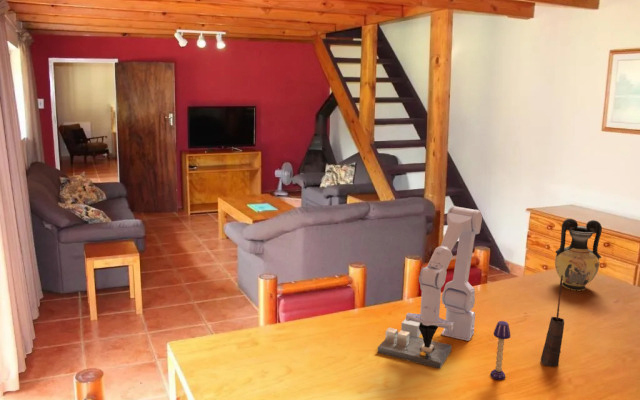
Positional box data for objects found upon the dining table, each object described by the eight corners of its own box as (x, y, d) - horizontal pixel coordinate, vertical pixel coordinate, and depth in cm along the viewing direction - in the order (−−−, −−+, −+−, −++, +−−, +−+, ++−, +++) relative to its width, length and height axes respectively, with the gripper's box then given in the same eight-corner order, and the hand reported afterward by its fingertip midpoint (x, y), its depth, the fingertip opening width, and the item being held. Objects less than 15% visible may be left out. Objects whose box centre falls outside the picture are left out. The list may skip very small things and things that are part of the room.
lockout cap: (422, 332, 189) (422, 320, 188) (416, 338, 184) (417, 326, 183) (406, 328, 191) (407, 316, 190) (401, 335, 186) (401, 322, 185)
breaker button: (433, 353, 174) (433, 345, 173) (430, 357, 171) (430, 348, 170) (423, 351, 175) (424, 342, 174) (420, 355, 172) (421, 346, 172)
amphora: (556, 292, 229) (565, 222, 223) (547, 278, 245) (554, 213, 239) (602, 296, 226) (611, 225, 220) (589, 282, 242) (598, 215, 236)
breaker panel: (451, 350, 176) (452, 335, 175) (440, 368, 165) (441, 351, 164) (392, 336, 185) (392, 321, 184) (377, 352, 174) (378, 336, 173)
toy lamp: (487, 371, 164) (492, 319, 160) (502, 371, 164) (507, 319, 161) (493, 380, 159) (498, 326, 155) (509, 380, 159) (514, 326, 156)
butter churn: (565, 375, 162) (576, 286, 157) (531, 366, 167) (540, 279, 162) (569, 363, 170) (580, 277, 164) (537, 354, 175) (546, 270, 169)
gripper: (403, 304, 169) (401, 345, 172) (450, 314, 163) (447, 357, 166) (410, 297, 176) (408, 337, 178) (456, 306, 169) (453, 347, 172)
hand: (427, 346), depth 172 cm, fingers closed, pressing on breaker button
